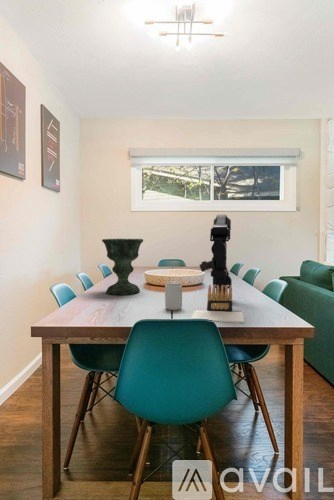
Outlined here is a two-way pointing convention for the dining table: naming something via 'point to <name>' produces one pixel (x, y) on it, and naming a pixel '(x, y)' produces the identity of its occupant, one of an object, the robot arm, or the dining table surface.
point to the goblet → (122, 263)
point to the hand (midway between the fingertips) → (219, 291)
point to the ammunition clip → (220, 299)
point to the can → (173, 295)
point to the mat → (220, 316)
